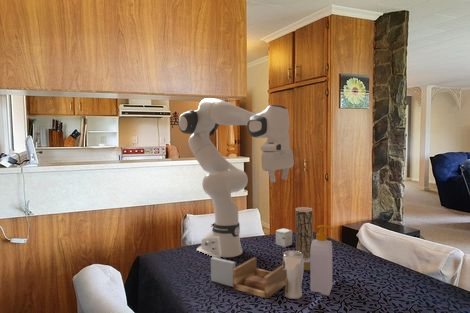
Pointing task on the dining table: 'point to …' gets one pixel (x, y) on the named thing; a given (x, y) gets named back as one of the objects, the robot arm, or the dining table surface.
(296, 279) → the beer glass
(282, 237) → the skincare box
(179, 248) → the dining table surface
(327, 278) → the soap bottle
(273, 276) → the tray
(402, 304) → the dining table surface
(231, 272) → the grey block
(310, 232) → the brown bark cylinder
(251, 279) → the offcut
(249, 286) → the offcut
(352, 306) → the dining table surface
